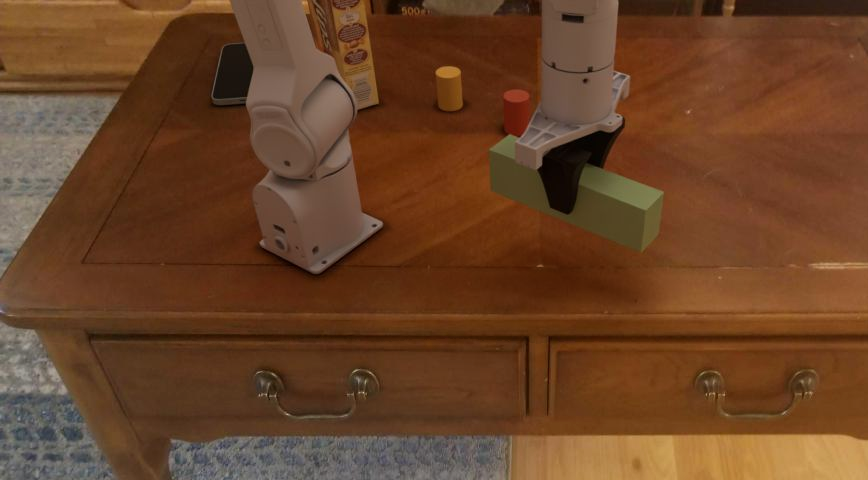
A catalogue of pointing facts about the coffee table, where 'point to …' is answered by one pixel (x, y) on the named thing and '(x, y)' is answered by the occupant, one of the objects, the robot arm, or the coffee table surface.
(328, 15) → the candy box
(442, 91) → the cylinders
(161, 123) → the coffee table surface
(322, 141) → the robot arm
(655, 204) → the bar
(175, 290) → the coffee table surface
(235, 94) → the smartphone
